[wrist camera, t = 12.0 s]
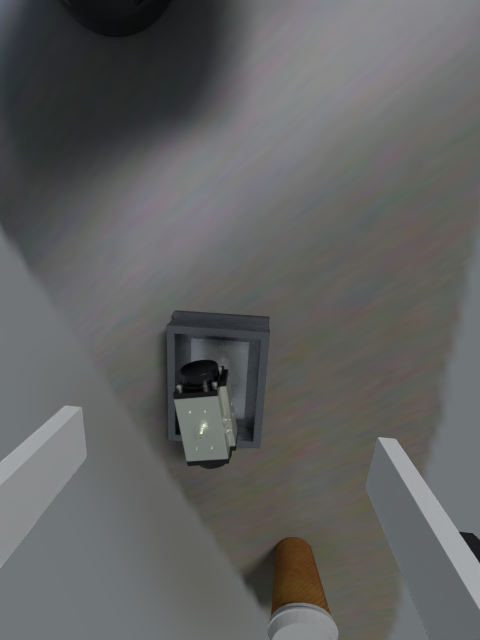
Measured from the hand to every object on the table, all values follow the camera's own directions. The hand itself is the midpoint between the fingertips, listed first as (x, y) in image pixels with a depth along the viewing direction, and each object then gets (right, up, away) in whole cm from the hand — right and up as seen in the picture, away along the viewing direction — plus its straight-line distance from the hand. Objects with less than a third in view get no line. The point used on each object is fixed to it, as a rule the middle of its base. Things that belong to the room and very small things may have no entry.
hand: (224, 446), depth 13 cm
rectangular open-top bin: (-2, -3, +29) cm, 29 cm away
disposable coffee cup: (+10, -34, +37) cm, 51 cm away
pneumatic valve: (-2, -3, +28) cm, 28 cm away
